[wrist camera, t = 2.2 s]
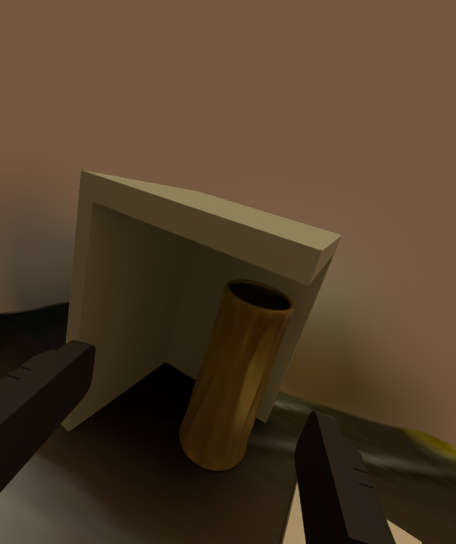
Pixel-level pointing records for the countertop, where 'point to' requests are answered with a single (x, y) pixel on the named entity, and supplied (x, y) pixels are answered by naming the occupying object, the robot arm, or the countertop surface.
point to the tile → (294, 528)
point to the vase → (234, 373)
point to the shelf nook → (177, 279)
